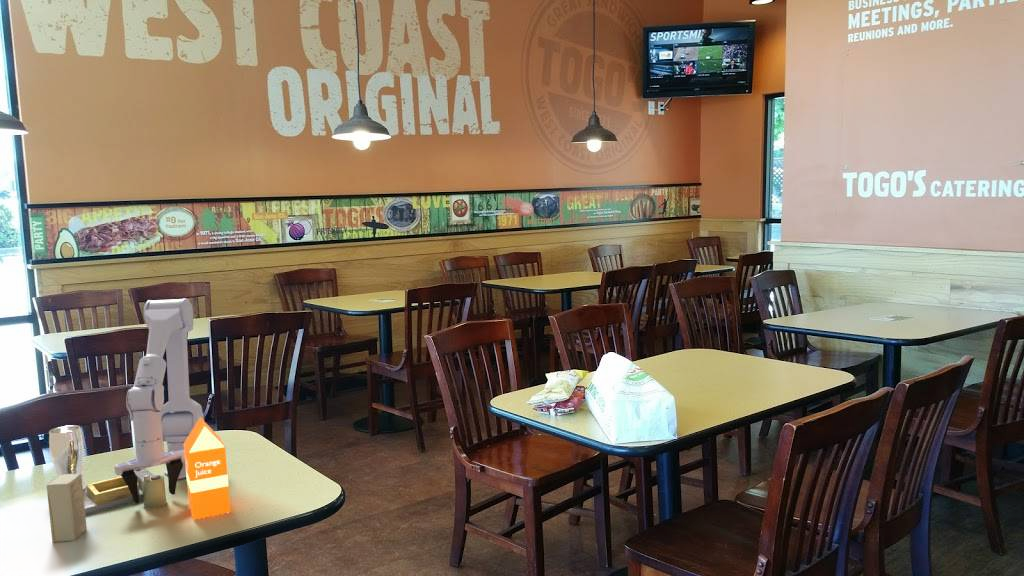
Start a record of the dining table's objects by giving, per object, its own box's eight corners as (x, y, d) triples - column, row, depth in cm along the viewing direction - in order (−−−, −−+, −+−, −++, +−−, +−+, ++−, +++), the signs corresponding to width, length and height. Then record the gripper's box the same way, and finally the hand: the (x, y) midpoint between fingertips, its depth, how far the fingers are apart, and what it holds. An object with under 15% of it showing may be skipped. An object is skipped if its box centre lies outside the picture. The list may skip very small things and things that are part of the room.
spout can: (162, 499, 182) (160, 469, 181) (169, 504, 179) (166, 474, 178) (141, 505, 179) (138, 474, 178) (147, 510, 176) (144, 479, 175)
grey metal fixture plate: (147, 482, 194) (145, 464, 193) (162, 495, 185) (160, 476, 184) (64, 502, 182) (62, 483, 182) (75, 517, 173) (73, 497, 173)
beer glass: (73, 496, 186) (66, 433, 185) (47, 495, 188) (40, 433, 186) (94, 485, 193) (88, 425, 191) (69, 484, 195) (63, 424, 193)
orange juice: (192, 520, 169) (184, 428, 167) (188, 507, 177) (180, 419, 175) (231, 512, 173) (224, 422, 170) (225, 499, 180) (218, 413, 178)
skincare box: (66, 530, 167) (59, 473, 165) (88, 528, 167) (82, 472, 166) (51, 543, 160) (44, 484, 159) (74, 541, 161) (68, 483, 159)
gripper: (118, 450, 169) (124, 511, 171) (188, 435, 179) (193, 493, 180) (109, 443, 175) (115, 503, 176) (178, 429, 184) (183, 485, 186)
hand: (154, 497), depth 179 cm, fingers open, 7 cm apart
